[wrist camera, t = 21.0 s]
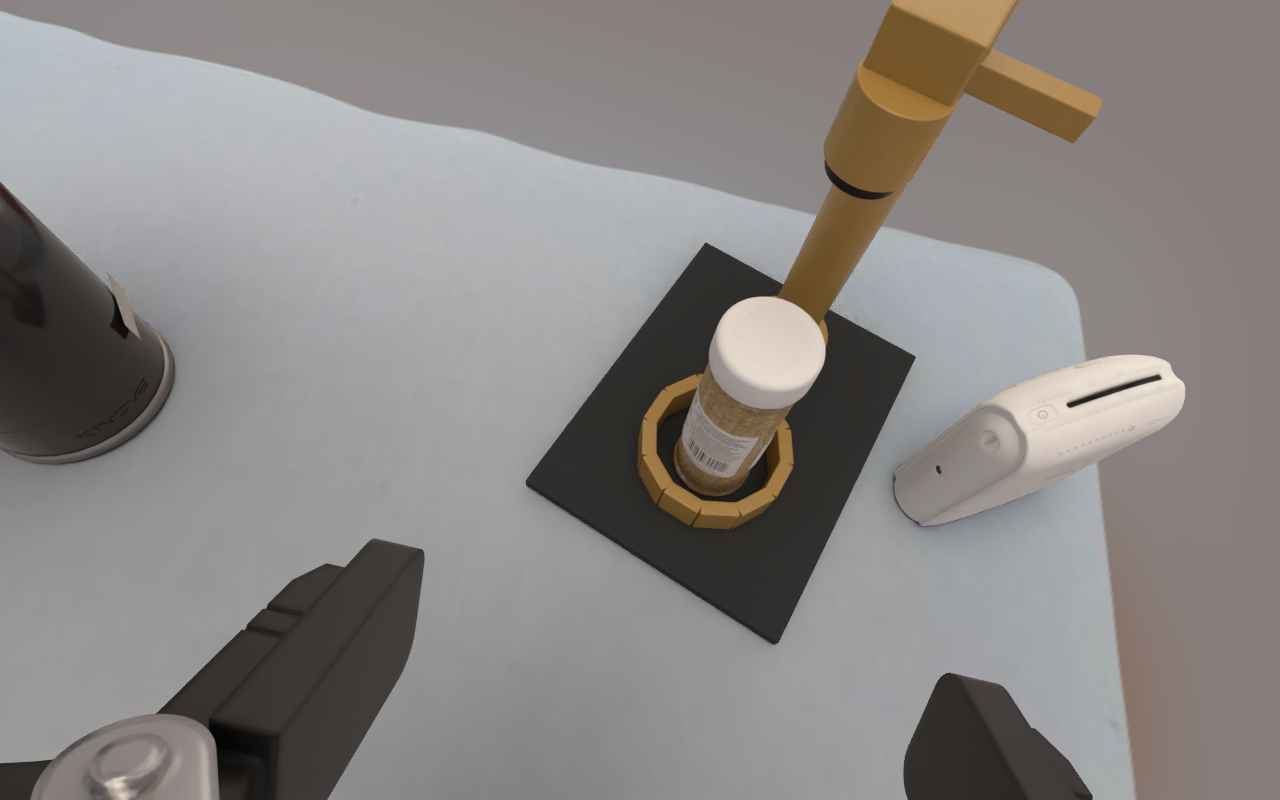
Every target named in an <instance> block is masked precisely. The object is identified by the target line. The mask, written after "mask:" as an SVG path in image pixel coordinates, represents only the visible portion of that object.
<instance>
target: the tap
mask: <svg viewBox="0 0 1280 800" xmlns="http://www.w3.org/2000/svg"><path fill="white" fill-rule="evenodd" d="M1022 1H1023V0H893V1H892V2H891V3H890V5H889V7H888V9H887V12H886V14H885V16H884V19H883V21H882V23H881V25H880V27H879V29H878V32H877V34H876V36H875V38H874V41H873V43H872V45H871V48H870V50H869V52H868V54H867V56H866V57H865V58H864V59H863V60H862V61H861V62H860V63H859V65H858V67H857V69H856V71H855V74H854V76H853V78H852V80H851V83H850V85H849V87H848V89H847V92H846V94H845V96H844V99H843V101H842V103H841V105H840V108H839V110H838V112H837V115H836V117H835V119H834V121H833V124H832V126H831V128H830V130H829V133H828V135H827V137H826V139H825V142H824V156H825V171H826V173H827V176H828V177H829V179H830V180H831V182H832V183H833V185H832V187H831V189H830V191H829V193H828V195H827V197H826V199H825V201H824V203H823V205H822V207H821V209H820V211H819V213H818V215H817V217H816V219H815V221H814V223H813V225H812V227H811V229H810V231H809V233H808V236H807V238H806V240H805V242H804V244H803V246H802V248H801V250H800V252H799V254H798V256H797V258H796V260H795V262H794V264H793V266H792V268H791V270H790V272H789V274H788V276H787V278H786V280H785V282H784V284H783V286H782V289H781V291H780V293H779V295H778V296H773V297H774V298H779V299H783V300H786V301H788V302H791V303H793V304H795V305H796V306H798V307H800V308H801V309H802V310H804V311H805V312H806V313H807V314H808V315H810V316H811V318H812V319H813V320H814V321H815V322H816V324H817V325H818V327H819V328H820V330H821V333H822V335H823V338H824V342H825V348H826V345H827V341H828V331H827V327H826V324H825V322H824V320H823V318H824V316H825V315H826V313H827V312H828V310H829V308H830V307H831V305H832V304H833V302H834V300H835V299H836V297H837V296H838V294H839V292H840V291H841V289H842V288H843V286H844V284H845V283H846V281H847V280H848V278H849V276H850V275H851V273H852V272H853V270H854V269H855V267H856V265H857V264H858V262H859V261H860V259H861V257H862V256H863V254H864V253H865V251H866V249H867V248H868V246H869V245H870V243H871V241H872V240H873V238H874V237H875V235H876V233H877V232H878V230H879V229H880V227H881V225H882V224H883V222H884V221H885V219H886V217H887V216H888V214H889V213H890V211H891V209H892V208H893V206H894V205H895V203H896V201H897V200H898V198H899V197H900V195H901V194H902V192H903V190H904V189H905V187H906V186H907V184H908V183H909V182H910V180H911V179H912V177H913V176H914V174H915V173H916V171H917V170H918V168H919V166H920V165H921V163H922V162H923V160H924V158H925V157H926V155H927V154H928V152H929V150H930V149H931V147H932V146H933V144H934V143H935V141H936V139H937V138H938V136H939V134H940V133H941V131H942V130H943V128H944V127H945V125H946V123H947V122H948V120H949V119H950V117H951V115H952V114H953V112H954V111H955V109H956V107H957V105H958V103H959V101H960V99H961V98H962V96H963V95H964V93H967V94H969V95H971V96H973V97H975V98H978V99H979V100H982V101H984V102H986V103H988V104H990V105H992V106H995V107H997V108H999V109H1001V110H1003V111H1005V112H1007V113H1009V114H1011V115H1014V116H1016V117H1018V118H1020V119H1022V120H1025V121H1027V122H1029V123H1031V124H1033V125H1035V126H1037V127H1039V128H1041V129H1043V130H1046V131H1048V132H1050V133H1052V134H1054V135H1056V136H1058V137H1061V138H1063V139H1065V140H1067V141H1069V142H1071V143H1074V142H1075V141H1076V140H1077V139H1078V138H1079V137H1080V136H1081V135H1082V133H1083V132H1084V131H1085V130H1086V129H1087V127H1088V126H1089V125H1090V124H1091V123H1092V122H1093V121H1094V120H1095V118H1096V116H1097V114H1098V111H1099V109H1100V107H1101V104H1102V102H1103V99H1101V98H1099V97H1097V96H1095V95H1093V94H1091V93H1088V92H1086V91H1084V90H1082V89H1079V88H1077V87H1075V86H1073V85H1071V84H1068V83H1066V82H1064V81H1062V80H1060V79H1057V78H1055V77H1053V76H1051V75H1049V74H1046V73H1044V72H1042V71H1039V70H1038V69H1035V68H1033V67H1031V66H1029V65H1027V64H1024V63H1022V62H1020V61H1018V60H1016V59H1013V58H1011V57H1009V56H1007V55H1005V54H1002V53H1000V52H998V51H996V50H993V49H992V48H993V47H994V45H995V44H996V42H997V40H998V39H999V37H1000V36H1001V34H1002V32H1003V31H1004V29H1005V28H1006V26H1007V24H1008V23H1009V21H1010V20H1011V18H1012V17H1013V15H1014V13H1015V12H1016V10H1017V9H1018V7H1019V5H1020V4H1021V2H1022ZM702 376H703V374H699V375H698V377H697V375H696V374H695V375H693V376H691V377H688V378H686V379H684V380H682V381H679V382H677V383H675V384H672V385H670V386H668V387H666V388H665V389H664V390H662V391H661V393H660V394H659V395H658V397H657V398H656V400H655V401H654V403H653V404H652V405H651V407H650V408H649V410H648V411H647V413H646V414H645V416H644V418H643V421H642V425H641V429H640V433H639V437H638V463H637V470H639V472H638V474H639V476H640V477H641V479H642V481H643V483H644V485H645V486H646V488H647V490H648V492H649V493H650V495H651V497H652V499H653V501H654V502H655V504H658V503H659V504H658V507H660V508H661V509H663V510H664V511H666V512H668V513H669V514H671V515H672V516H674V517H676V518H677V519H679V520H680V521H682V522H684V523H685V524H687V525H688V526H690V525H691V524H692V526H693V527H696V528H714V529H730V527H731V528H732V529H733V528H735V527H737V526H739V525H741V524H743V523H744V522H746V521H748V520H750V519H752V518H754V517H756V516H758V515H760V514H761V513H763V512H764V511H765V510H766V509H767V508H768V506H769V505H770V504H771V503H772V502H773V501H774V500H775V499H776V498H777V497H778V495H779V493H780V491H781V489H782V487H783V485H784V484H785V482H786V480H787V478H788V476H789V474H790V472H791V471H792V469H793V466H792V465H793V464H794V461H793V449H792V437H791V430H788V429H789V425H788V423H787V422H786V421H785V419H784V420H783V421H782V423H781V425H780V426H779V428H778V429H777V430H776V432H775V433H774V436H773V438H772V440H771V442H770V443H769V445H768V446H767V448H766V457H767V473H768V476H767V478H766V480H765V482H764V484H763V485H762V487H761V489H760V490H759V491H757V492H756V493H754V494H752V495H750V496H748V497H746V498H744V499H742V500H740V501H738V502H720V501H704V500H701V499H699V498H698V497H696V496H694V495H693V494H691V493H690V492H688V491H686V490H685V489H683V488H681V487H680V486H678V485H677V484H675V483H673V481H672V479H671V478H670V476H669V474H668V472H667V471H666V469H665V467H664V466H663V464H662V462H661V460H660V459H659V457H658V455H657V453H656V450H657V431H658V430H659V428H660V427H661V425H662V424H663V422H664V421H665V419H666V418H667V416H669V415H672V414H674V413H676V412H678V411H680V410H683V409H685V408H687V407H689V406H691V404H692V401H693V399H694V396H695V393H696V390H697V388H698V385H699V382H700V380H701V378H702Z"/></svg>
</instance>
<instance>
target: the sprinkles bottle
mask: <svg viewBox="0 0 1280 800" xmlns="http://www.w3.org/2000/svg"><path fill="white" fill-rule="evenodd" d="M824 361H825V342H824V338H823V335H822V333H821V330H820V328H819V327H818V325H817V324H816V322H815V321H814V320H813V319H812V318H811V316H810V315H808V314H807V313H806V312H805V311H804V310H802V309H801V308H800V307H798V306H796V305H795V304H793V303H791V302H788V301H786V300H783V299H779V298H774V297H753V298H749V299H745V300H743V301H740V302H738V303H737V304H735V305H733V306H732V307H731V308H730V309H728V310H727V312H726V313H725V314H724V315H723V316H722V318H721V320H720V322H719V324H718V326H717V329H716V331H715V334H714V336H713V339H712V342H711V345H710V349H709V362H708V364H707V367H706V370H705V372H704V374H703V376H702V378H701V380H700V382H699V385H698V388H697V390H696V393H695V396H694V399H693V401H692V404H691V407H690V409H689V412H688V415H687V418H686V420H685V423H684V426H683V431H682V435H681V437H680V438H679V439H678V441H677V443H676V445H675V448H674V455H673V460H674V466H675V470H676V472H677V475H678V476H679V478H680V479H681V480H682V482H683V483H684V484H685V485H687V486H688V488H690V489H691V490H693V491H695V492H697V493H699V494H701V495H704V496H710V497H719V496H724V495H729V494H731V493H733V492H734V491H736V490H737V489H738V488H740V487H741V486H742V484H743V483H744V481H745V480H746V478H747V477H748V475H749V471H750V469H751V468H752V467H753V466H754V465H755V464H756V462H757V461H758V460H759V458H760V457H761V455H762V454H763V452H764V451H765V449H766V448H767V446H768V445H769V443H770V442H771V440H772V438H773V436H774V433H775V432H776V430H777V429H778V428H779V426H780V425H781V423H782V421H783V420H784V419H785V417H786V416H787V414H788V412H789V411H790V409H791V408H792V406H793V405H794V403H795V402H797V401H798V400H800V399H801V398H802V397H803V396H804V395H805V394H806V393H807V392H808V390H809V389H810V387H811V386H812V384H813V383H814V381H815V380H816V378H817V376H818V375H819V373H820V371H821V369H822V367H823V364H824Z"/></svg>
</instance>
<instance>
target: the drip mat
mask: <svg viewBox="0 0 1280 800" xmlns="http://www.w3.org/2000/svg"><path fill="white" fill-rule="evenodd" d="M782 286H783V284H781V283H779V282H777V281H776V280H774V279H772V278H770V277H768V276H766V275H765V274H763V273H761V272H759V271H757V270H755V269H754V268H752V267H750V266H748V265H746V264H744V263H743V262H741V261H739V260H737V259H735V258H733V257H732V256H730V255H728V254H726V253H724V252H722V251H721V250H719V249H717V248H715V247H713V246H711V245H709V244H708V243H705V244H704V246H703V247H702V248H701V250H700V251H699V252H698V253H697V255H696V256H695V257H694V259H693V260H692V261H691V263H690V264H689V265H688V267H687V268H686V269H685V271H684V272H683V273H682V275H681V276H680V277H679V279H678V280H677V281H676V283H675V284H674V285H673V287H672V288H671V289H670V291H669V292H668V293H667V294H666V296H665V297H664V298H663V300H662V301H661V302H660V304H659V305H658V306H657V308H656V309H655V310H654V312H653V313H652V314H651V316H650V317H649V318H648V320H647V321H646V322H645V324H644V325H643V326H642V328H641V329H640V330H639V332H638V333H637V334H636V336H635V337H634V338H633V339H632V341H631V342H630V343H629V345H628V346H627V347H626V349H625V350H624V351H623V353H622V354H621V355H620V357H619V358H618V359H617V361H616V362H615V363H614V365H613V366H612V367H611V369H610V370H609V371H608V373H607V374H606V375H605V377H604V378H603V379H602V380H601V382H600V383H599V384H598V386H597V387H596V388H595V390H594V391H593V392H592V394H591V395H590V396H589V398H588V399H587V400H586V402H585V403H584V404H583V406H582V407H581V408H580V410H579V411H578V412H577V414H576V415H575V416H574V418H573V419H572V420H571V421H570V423H569V424H568V425H567V427H566V428H565V429H564V431H563V432H562V433H561V435H560V436H559V437H558V439H557V440H556V441H555V443H554V444H553V445H552V447H551V448H550V449H549V451H548V452H547V453H546V455H545V456H544V457H543V459H542V460H541V461H540V463H539V464H538V465H537V466H536V468H535V469H534V470H533V472H532V473H531V474H530V476H529V477H528V478H527V480H526V485H527V486H528V487H530V488H531V489H533V490H535V491H536V492H538V493H539V494H541V495H542V496H544V497H545V498H547V499H548V500H550V501H552V502H553V503H555V504H556V505H558V506H559V507H561V508H562V509H564V510H566V511H567V512H569V513H570V514H572V515H573V516H575V517H576V518H578V519H580V520H581V521H583V522H584V523H586V524H587V525H589V526H590V527H592V528H594V529H595V530H597V531H598V532H600V533H601V534H603V535H604V536H606V537H607V538H609V539H611V540H612V541H614V542H615V543H617V544H618V545H620V546H621V547H623V548H625V549H626V550H628V551H629V552H631V553H632V554H634V555H635V556H637V557H639V558H640V559H642V560H643V561H645V562H646V563H648V564H649V565H651V566H652V567H654V568H656V569H657V570H659V571H660V572H662V573H663V574H665V575H666V576H668V577H670V578H671V579H673V580H674V581H676V582H677V583H679V584H680V585H682V586H684V587H685V588H687V589H688V590H690V591H691V592H693V593H694V594H696V595H698V596H699V597H701V598H702V599H704V600H705V601H707V602H708V603H710V604H711V605H713V606H715V607H716V608H718V609H719V610H721V611H722V612H724V613H725V614H727V615H729V616H730V617H732V618H733V619H735V620H736V621H738V622H739V623H741V624H743V625H744V626H746V627H747V628H749V629H750V630H752V631H753V632H755V633H756V634H758V635H760V636H761V637H763V638H764V639H766V640H767V641H769V642H770V643H772V644H776V643H778V642H779V640H780V638H781V636H782V634H783V632H784V630H785V628H786V626H787V624H788V622H789V620H790V617H791V615H792V613H793V611H794V609H795V607H796V605H797V603H798V601H799V599H800V597H801V595H802V593H803V590H804V588H805V586H806V584H807V582H808V580H809V578H810V576H811V574H812V572H813V570H814V568H815V565H816V563H817V561H818V559H819V557H820V555H821V553H822V551H823V549H824V547H825V545H826V543H827V541H828V538H829V536H830V534H831V532H832V530H833V528H834V526H835V524H836V522H837V520H838V518H839V516H840V514H841V511H842V509H843V507H844V505H845V503H846V501H847V499H848V497H849V495H850V493H851V491H852V489H853V487H854V484H855V482H856V480H857V478H858V476H859V474H860V472H861V470H862V468H863V466H864V464H865V462H866V460H867V457H868V455H869V453H870V451H871V449H872V447H873V445H874V443H875V441H876V439H877V437H878V435H879V433H880V430H881V428H882V426H883V424H884V422H885V420H886V418H887V416H888V414H889V412H890V410H891V408H892V405H893V403H894V401H895V399H896V397H897V395H898V393H899V391H900V389H901V387H902V385H903V383H904V381H905V378H906V376H907V374H908V372H909V370H910V368H911V366H912V364H913V362H914V360H915V358H916V357H915V356H914V355H912V354H910V353H908V352H906V351H904V350H902V349H901V348H899V347H897V346H895V345H893V344H891V343H890V342H888V341H886V340H884V339H882V338H880V337H879V336H877V335H875V334H873V333H871V332H869V331H868V330H866V329H864V328H862V327H860V326H858V325H857V324H855V323H853V322H851V321H849V320H847V319H845V318H844V317H842V316H840V315H838V314H836V313H834V312H833V311H831V310H828V312H827V313H826V315H825V316H824V318H823V320H824V322H825V324H826V327H827V331H828V341H827V345H826V348H825V361H824V364H823V367H822V369H821V371H820V373H819V375H818V376H817V378H816V380H815V381H814V383H813V384H812V386H811V387H810V389H809V390H808V392H807V393H806V394H805V395H804V396H803V397H802V398H801V399H800V400H798V401H797V402H795V403H794V405H793V406H792V408H791V409H790V411H789V412H788V414H787V416H786V417H785V421H786V422H787V423H788V425H789V429H788V430H791V437H792V449H793V461H794V464H793V465H792V466H793V469H792V471H791V472H790V474H789V476H788V478H787V480H786V482H785V484H784V485H783V487H782V489H781V491H780V493H779V495H778V497H777V498H776V499H775V500H774V501H773V502H772V503H771V504H770V505H769V506H768V508H767V509H766V510H765V511H764V512H763V513H761V514H760V515H758V516H756V517H754V518H752V519H750V520H748V521H746V522H744V523H743V524H741V525H739V526H737V527H735V528H733V529H732V528H731V527H730V529H714V528H696V527H693V526H692V524H691V525H690V526H688V525H687V524H685V523H684V522H682V521H680V520H679V519H677V518H676V517H674V516H672V515H671V514H669V513H668V512H666V511H664V510H663V509H661V508H660V507H658V504H659V503H658V504H655V502H654V501H653V499H652V497H651V495H650V493H649V492H648V490H647V488H646V486H645V485H644V483H643V481H642V479H641V477H640V476H639V474H638V472H639V470H637V463H638V437H639V433H640V429H641V425H642V421H643V418H644V416H645V414H646V413H647V411H648V410H649V408H650V407H651V405H652V404H653V403H654V401H655V400H656V398H657V397H658V395H659V394H660V393H661V391H662V390H664V389H665V388H666V387H668V386H670V385H672V384H675V383H677V382H679V381H682V380H684V379H686V378H688V377H691V376H693V375H695V374H696V375H697V377H698V375H699V374H704V372H705V370H706V367H707V364H708V362H709V349H710V345H711V342H712V339H713V336H714V334H715V331H716V329H717V326H718V324H719V322H720V320H721V318H722V316H723V315H724V314H725V313H726V312H727V310H728V309H730V308H731V307H732V306H733V305H735V304H737V303H738V302H740V301H743V300H745V299H749V298H753V297H773V296H778V295H779V293H780V291H781V289H782ZM690 407H691V406H689V407H687V408H685V409H683V410H680V411H678V412H676V413H674V414H672V415H669V416H667V418H666V419H665V421H664V422H663V424H662V425H661V427H660V428H659V430H658V431H657V450H656V453H657V455H658V457H659V459H660V460H661V462H662V464H663V466H664V467H665V469H666V471H667V472H668V474H669V476H670V478H671V479H672V481H673V483H675V484H677V485H678V486H680V487H681V488H683V489H685V490H686V491H688V492H690V493H691V494H693V495H694V496H696V497H698V498H699V499H701V500H704V501H720V502H738V501H740V500H742V499H744V498H746V497H748V496H750V495H752V494H754V493H756V492H757V491H759V490H760V489H761V487H762V485H763V484H764V482H765V480H766V478H767V476H768V473H767V457H766V449H765V451H764V452H763V454H762V455H761V457H760V458H759V460H758V461H757V462H756V464H755V465H754V466H753V467H752V468H751V469H750V471H749V475H748V477H747V478H746V480H745V481H744V483H743V484H742V486H741V487H740V488H738V489H737V490H736V491H734V492H733V493H731V494H729V495H724V496H719V497H710V496H704V495H701V494H699V493H697V492H695V491H693V490H691V489H690V488H688V486H687V485H685V484H684V483H683V482H682V480H681V479H680V478H679V476H678V475H677V472H676V470H675V466H674V460H673V455H674V448H675V445H676V443H677V441H678V439H679V438H680V437H681V435H682V431H683V426H684V423H685V420H686V418H687V415H688V412H689V409H690Z"/></svg>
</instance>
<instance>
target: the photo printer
mask: <svg viewBox="0 0 1280 800" xmlns="http://www.w3.org/2000/svg"><path fill="white" fill-rule="evenodd" d="M1184 400H1185V386H1184V383H1183V382H1182V381H1181V380H1180V379H1178V378H1177V377H1176V376H1175V375H1174V373H1173V371H1172V369H1171V366H1170V364H1169V363H1168V362H1166V361H1164V360H1162V359H1160V358H1156V357H1153V356H1145V355H1120V356H1110V357H1104V358H1099V359H1095V360H1091V361H1087V362H1083V363H1079V364H1075V365H1072V366H1069V367H1066V368H1062V369H1059V370H1056V371H1053V372H1050V373H1046V374H1043V375H1041V376H1038V377H1035V378H1032V379H1030V380H1027V381H1024V382H1022V383H1019V384H1017V385H1014V386H1012V387H1010V388H1008V389H1006V390H1004V391H1002V392H1000V393H998V394H996V395H994V396H992V397H991V398H989V399H987V400H986V401H984V402H983V403H981V404H980V405H978V406H977V407H976V408H974V409H973V410H972V411H971V412H969V413H968V414H967V415H965V416H964V417H963V418H962V419H960V420H959V421H958V422H957V423H955V424H954V425H953V426H952V427H950V428H949V429H948V430H946V431H945V432H944V433H943V434H941V435H940V436H939V437H938V438H936V439H935V440H934V441H933V442H931V443H930V444H929V445H927V446H926V447H925V448H924V449H922V450H921V451H920V452H918V453H917V454H916V455H915V456H913V457H912V458H911V459H909V460H908V461H907V462H905V463H904V464H903V465H901V466H900V467H899V468H898V469H897V470H896V471H895V472H894V475H895V477H896V480H895V483H894V492H895V496H896V499H897V501H898V504H899V505H900V507H901V508H902V510H903V511H904V512H905V513H906V514H907V515H908V516H909V517H910V518H911V519H913V520H914V521H918V522H919V523H920V525H921V526H930V525H938V524H943V523H946V522H950V521H954V520H957V519H960V518H964V517H967V516H970V515H973V514H976V513H979V512H982V511H985V510H988V509H991V508H993V507H996V506H999V505H1002V504H1004V503H1007V502H1010V501H1013V500H1015V499H1018V498H1020V497H1023V496H1025V495H1028V494H1030V493H1033V492H1035V491H1037V490H1040V489H1042V488H1044V487H1046V486H1048V485H1050V484H1053V483H1055V482H1057V481H1059V480H1061V479H1063V478H1065V477H1067V476H1069V475H1071V474H1073V473H1075V472H1077V471H1079V470H1081V469H1083V468H1085V467H1087V466H1089V465H1091V464H1093V463H1095V462H1097V461H1098V460H1100V459H1102V458H1104V457H1106V456H1108V455H1110V454H1112V453H1114V452H1116V451H1118V450H1120V449H1122V448H1124V447H1126V446H1128V445H1130V444H1132V443H1134V442H1136V441H1138V440H1140V439H1142V438H1144V437H1145V436H1148V435H1149V434H1151V433H1154V432H1155V431H1157V430H1159V429H1161V428H1162V427H1164V426H1165V425H1167V424H1168V423H1169V422H1170V421H1171V420H1172V419H1173V418H1175V417H1176V416H1177V414H1178V413H1179V412H1180V410H1181V408H1182V406H1183V403H1184Z"/></svg>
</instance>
